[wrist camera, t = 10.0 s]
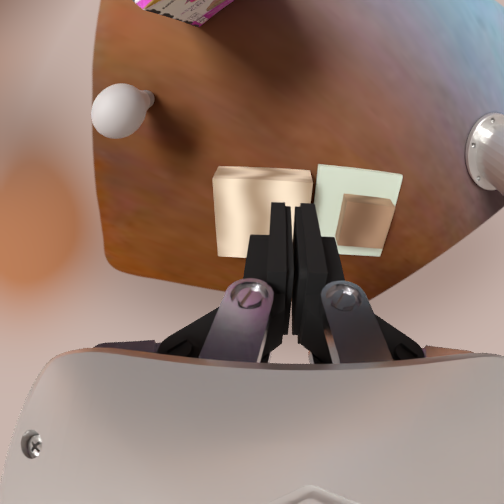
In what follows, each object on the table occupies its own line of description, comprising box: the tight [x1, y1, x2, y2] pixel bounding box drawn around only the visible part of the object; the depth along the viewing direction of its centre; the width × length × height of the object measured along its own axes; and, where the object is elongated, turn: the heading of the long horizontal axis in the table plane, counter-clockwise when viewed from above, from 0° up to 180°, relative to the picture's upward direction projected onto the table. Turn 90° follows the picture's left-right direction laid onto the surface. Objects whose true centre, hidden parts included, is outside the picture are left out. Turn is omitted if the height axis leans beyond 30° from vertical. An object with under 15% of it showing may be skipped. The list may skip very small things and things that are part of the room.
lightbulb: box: [91, 84, 154, 139], centre depth 27 cm, size 6×6×11 cm
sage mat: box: [314, 164, 403, 256], centre depth 40 cm, size 12×14×1 cm
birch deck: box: [213, 166, 313, 258], centre depth 39 cm, size 12×12×4 cm
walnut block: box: [335, 193, 395, 249], centre depth 38 cm, size 7×7×2 cm
